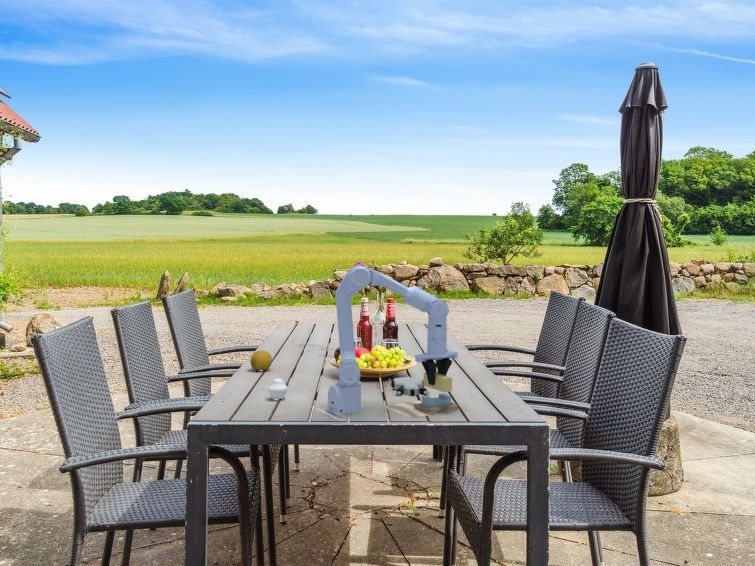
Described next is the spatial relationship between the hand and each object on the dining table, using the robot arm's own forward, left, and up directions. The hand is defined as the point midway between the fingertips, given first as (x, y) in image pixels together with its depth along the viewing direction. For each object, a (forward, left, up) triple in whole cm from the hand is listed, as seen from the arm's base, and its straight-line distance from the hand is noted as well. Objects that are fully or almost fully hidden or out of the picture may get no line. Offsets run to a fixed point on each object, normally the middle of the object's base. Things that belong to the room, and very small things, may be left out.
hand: (436, 383), depth 188 cm
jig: (-3, +4, -9) cm, 10 cm away
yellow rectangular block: (0, 0, -1) cm, 1 cm away
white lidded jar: (-34, +40, -9) cm, 53 cm away
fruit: (-21, +87, -9) cm, 90 cm away
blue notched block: (0, 0, -8) cm, 8 cm away
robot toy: (+7, +24, -9) cm, 27 cm away
